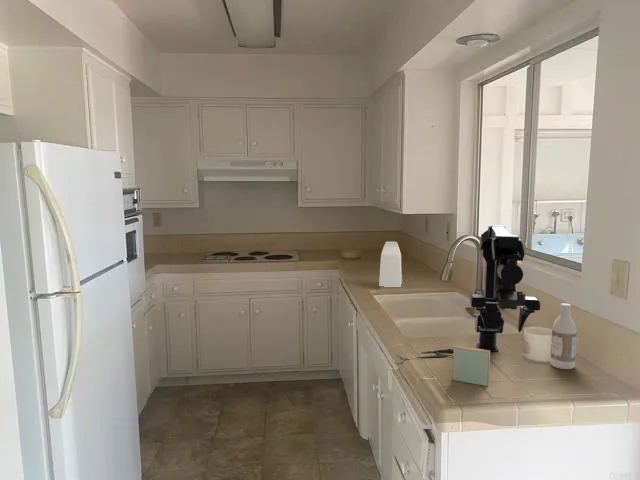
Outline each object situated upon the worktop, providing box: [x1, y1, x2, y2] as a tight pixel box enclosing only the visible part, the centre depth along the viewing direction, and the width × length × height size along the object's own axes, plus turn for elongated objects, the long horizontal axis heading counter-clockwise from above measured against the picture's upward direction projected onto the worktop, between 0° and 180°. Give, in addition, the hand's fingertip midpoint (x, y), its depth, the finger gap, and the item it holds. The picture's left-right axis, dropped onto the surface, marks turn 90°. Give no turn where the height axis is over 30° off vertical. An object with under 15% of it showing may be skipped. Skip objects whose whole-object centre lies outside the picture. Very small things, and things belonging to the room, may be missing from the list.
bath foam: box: [550, 302, 578, 370], centre depth 155 cm, size 7×7×20 cm
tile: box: [452, 345, 491, 387], centre depth 142 cm, size 2×10×10 cm, turn 63°
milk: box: [378, 241, 403, 287], centre depth 274 cm, size 12×12×26 cm
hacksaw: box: [391, 348, 453, 365], centre depth 163 cm, size 24×10×1 cm, turn 97°
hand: (502, 330), depth 143 cm, fingers open, 9 cm apart
